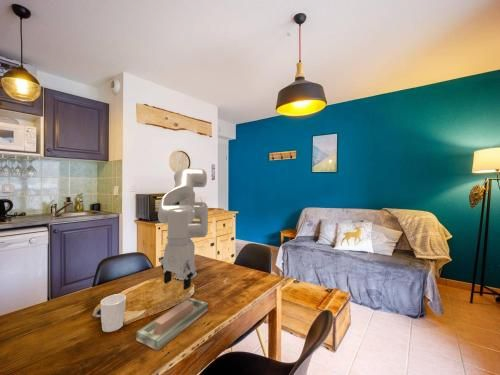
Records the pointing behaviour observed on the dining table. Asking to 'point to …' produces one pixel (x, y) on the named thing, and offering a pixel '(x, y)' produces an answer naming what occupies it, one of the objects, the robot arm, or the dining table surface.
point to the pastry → (97, 311)
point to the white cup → (112, 312)
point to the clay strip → (172, 317)
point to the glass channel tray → (158, 341)
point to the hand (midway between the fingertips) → (177, 285)
